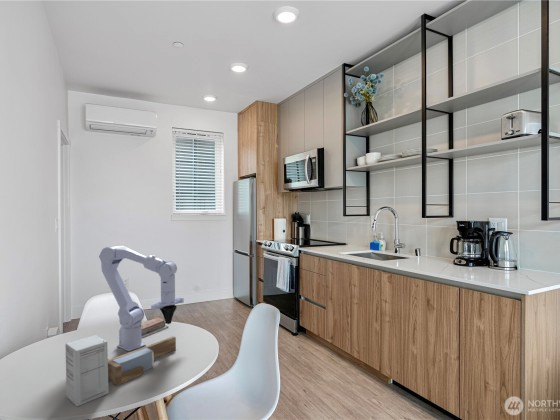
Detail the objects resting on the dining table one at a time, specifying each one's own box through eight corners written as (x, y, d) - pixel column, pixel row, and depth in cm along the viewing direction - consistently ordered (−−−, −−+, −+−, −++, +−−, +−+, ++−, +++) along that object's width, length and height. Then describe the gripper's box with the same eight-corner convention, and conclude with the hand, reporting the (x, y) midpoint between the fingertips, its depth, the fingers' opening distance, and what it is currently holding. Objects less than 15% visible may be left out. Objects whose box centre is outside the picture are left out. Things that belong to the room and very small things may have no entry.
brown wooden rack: (101, 376, 118) (101, 359, 118) (173, 348, 142) (173, 333, 142) (116, 385, 112) (116, 367, 112) (188, 354, 136) (188, 339, 136)
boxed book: (112, 377, 118) (112, 360, 118) (146, 363, 128) (146, 347, 128) (119, 381, 115) (119, 363, 115) (153, 366, 125) (153, 350, 125)
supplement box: (97, 384, 113) (96, 334, 113) (109, 393, 107) (109, 340, 107) (65, 396, 106) (64, 342, 105) (76, 407, 100) (75, 350, 100)
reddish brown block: (154, 315, 172) (168, 318, 167) (154, 325, 172) (168, 328, 167) (123, 326, 156) (137, 330, 151) (123, 337, 156) (137, 341, 151)
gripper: (158, 296, 134) (158, 330, 134) (188, 289, 145) (188, 320, 145) (148, 293, 138) (148, 326, 138) (177, 286, 150) (178, 317, 150)
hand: (168, 323), depth 142 cm, fingers closed
